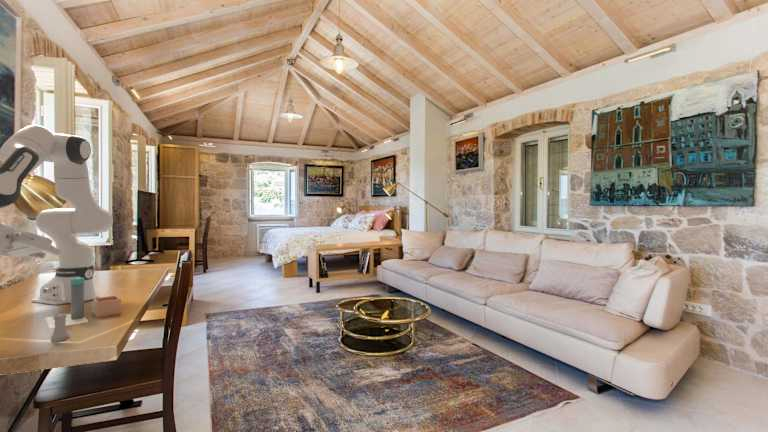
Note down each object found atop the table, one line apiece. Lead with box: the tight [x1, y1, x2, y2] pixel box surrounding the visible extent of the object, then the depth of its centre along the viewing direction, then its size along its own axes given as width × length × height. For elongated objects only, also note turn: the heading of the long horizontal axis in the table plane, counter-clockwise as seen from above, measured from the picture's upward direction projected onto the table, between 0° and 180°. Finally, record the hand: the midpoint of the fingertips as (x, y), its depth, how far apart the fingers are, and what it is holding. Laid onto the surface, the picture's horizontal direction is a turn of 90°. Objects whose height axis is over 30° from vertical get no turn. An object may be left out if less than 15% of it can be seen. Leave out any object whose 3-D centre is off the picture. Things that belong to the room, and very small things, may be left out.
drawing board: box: [45, 313, 89, 329], centre depth 130 cm, size 20×13×1 cm, turn 46°
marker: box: [70, 278, 85, 319], centre depth 132 cm, size 4×4×14 cm
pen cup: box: [92, 295, 122, 318], centre depth 139 cm, size 7×7×6 cm
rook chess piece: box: [50, 312, 70, 344], centre depth 113 cm, size 4×4×8 cm
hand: (51, 254), depth 124 cm, fingers open, 8 cm apart
